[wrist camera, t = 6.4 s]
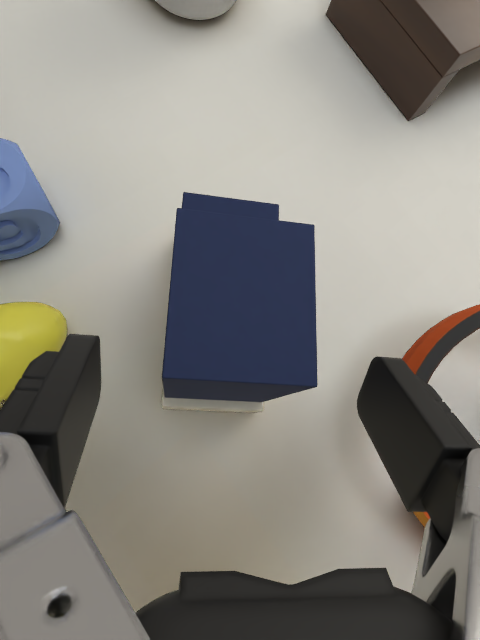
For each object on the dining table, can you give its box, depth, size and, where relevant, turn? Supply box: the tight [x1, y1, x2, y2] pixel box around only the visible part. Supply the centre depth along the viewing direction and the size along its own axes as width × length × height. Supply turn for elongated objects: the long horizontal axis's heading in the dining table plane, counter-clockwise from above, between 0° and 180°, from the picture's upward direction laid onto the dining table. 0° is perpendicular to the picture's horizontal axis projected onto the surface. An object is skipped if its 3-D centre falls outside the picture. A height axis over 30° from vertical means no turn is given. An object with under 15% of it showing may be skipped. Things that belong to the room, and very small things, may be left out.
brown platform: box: [326, 0, 480, 121], centre depth 27 cm, size 16×10×5 cm, turn 123°
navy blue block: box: [161, 192, 317, 413], centre depth 16 cm, size 9×5×9 cm, turn 178°
